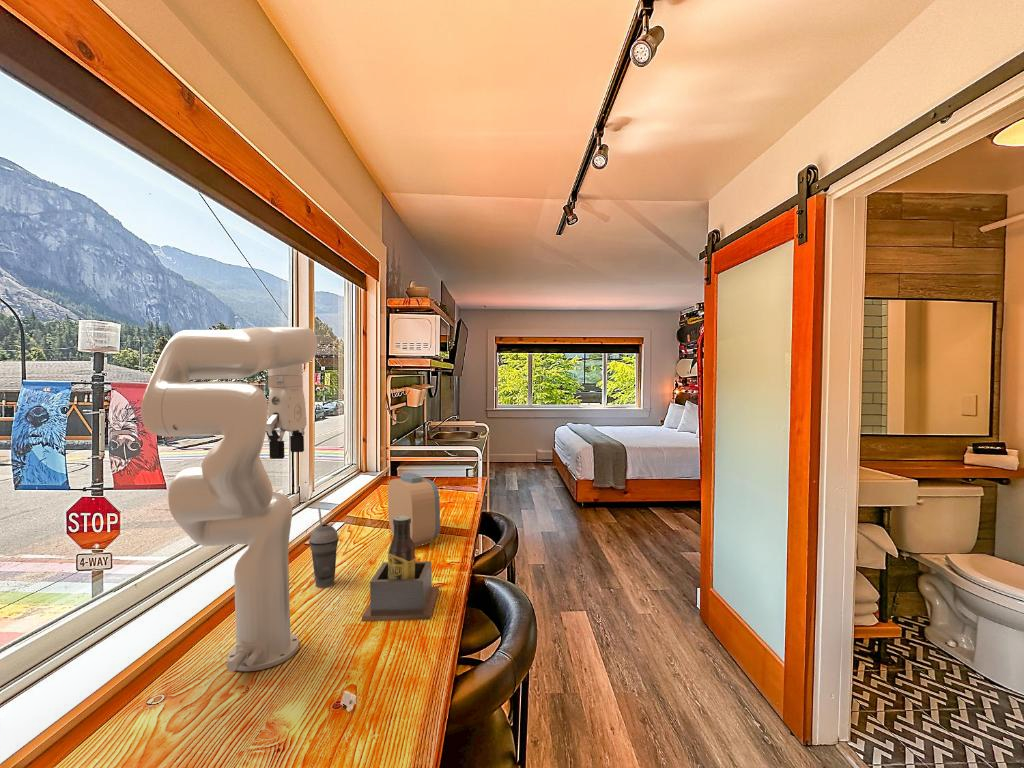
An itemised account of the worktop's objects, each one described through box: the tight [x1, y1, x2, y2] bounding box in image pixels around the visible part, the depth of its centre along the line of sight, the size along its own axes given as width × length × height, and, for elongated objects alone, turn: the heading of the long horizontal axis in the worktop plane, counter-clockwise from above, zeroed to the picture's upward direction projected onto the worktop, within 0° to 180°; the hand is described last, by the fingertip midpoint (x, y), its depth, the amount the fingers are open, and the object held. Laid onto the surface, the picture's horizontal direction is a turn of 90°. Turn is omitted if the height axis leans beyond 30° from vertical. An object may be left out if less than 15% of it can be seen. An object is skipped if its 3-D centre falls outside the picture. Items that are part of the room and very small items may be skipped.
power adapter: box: [340, 690, 357, 712], centre depth 82 cm, size 3×3×3 cm
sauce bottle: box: [387, 515, 416, 579], centre depth 118 cm, size 7×6×20 cm
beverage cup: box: [308, 507, 340, 589], centre depth 131 cm, size 7×7×20 cm
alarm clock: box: [387, 472, 441, 547], centre depth 166 cm, size 21×10×22 cm, turn 34°
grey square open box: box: [361, 560, 440, 622], centre depth 119 cm, size 15×15×8 cm
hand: (287, 455), depth 120 cm, fingers open, 9 cm apart
